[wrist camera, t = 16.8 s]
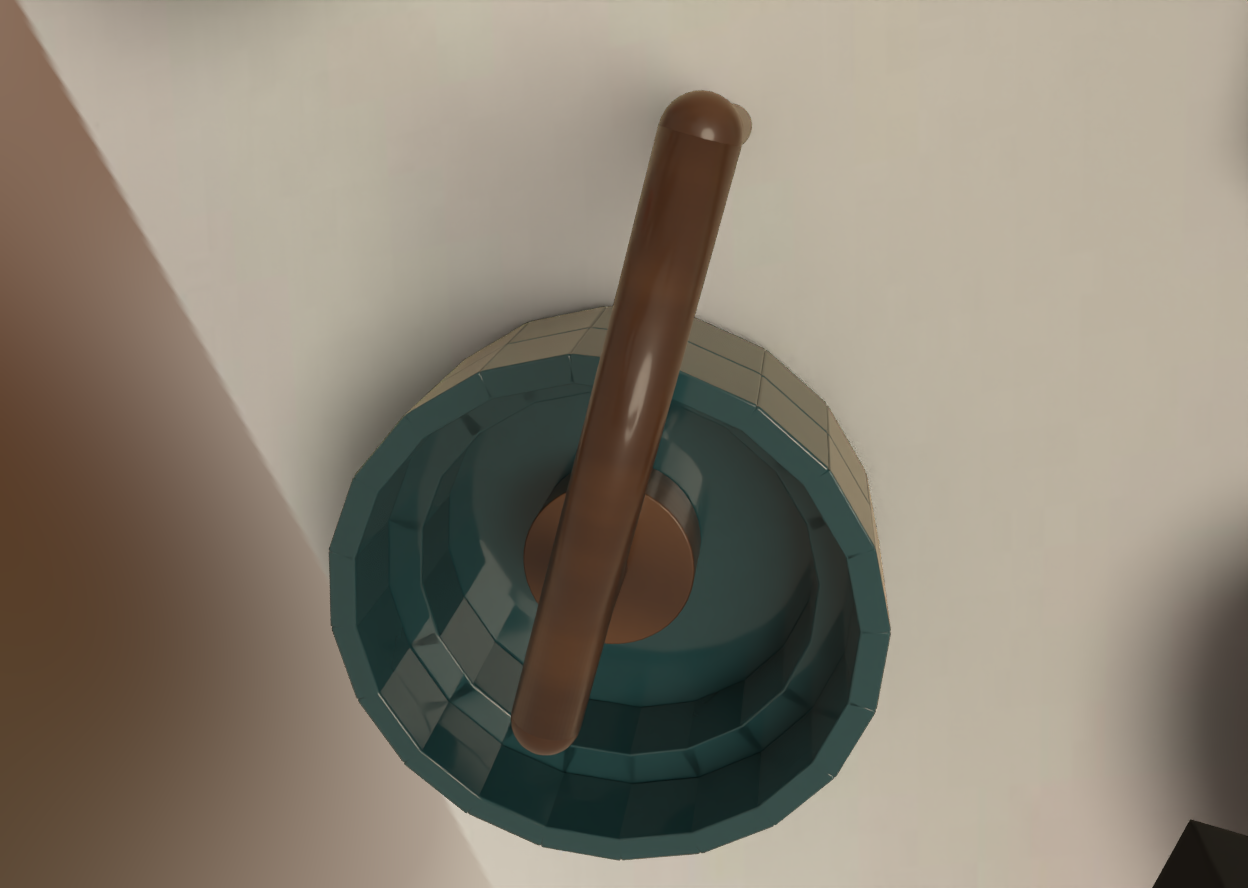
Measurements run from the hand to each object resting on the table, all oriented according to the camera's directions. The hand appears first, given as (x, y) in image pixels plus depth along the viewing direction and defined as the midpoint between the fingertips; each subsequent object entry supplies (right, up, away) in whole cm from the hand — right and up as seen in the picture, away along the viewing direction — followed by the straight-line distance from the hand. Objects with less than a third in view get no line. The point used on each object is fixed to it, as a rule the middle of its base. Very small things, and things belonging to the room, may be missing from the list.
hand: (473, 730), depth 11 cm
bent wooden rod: (+3, +5, +23) cm, 23 cm away
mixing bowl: (+2, 0, +25) cm, 25 cm away
